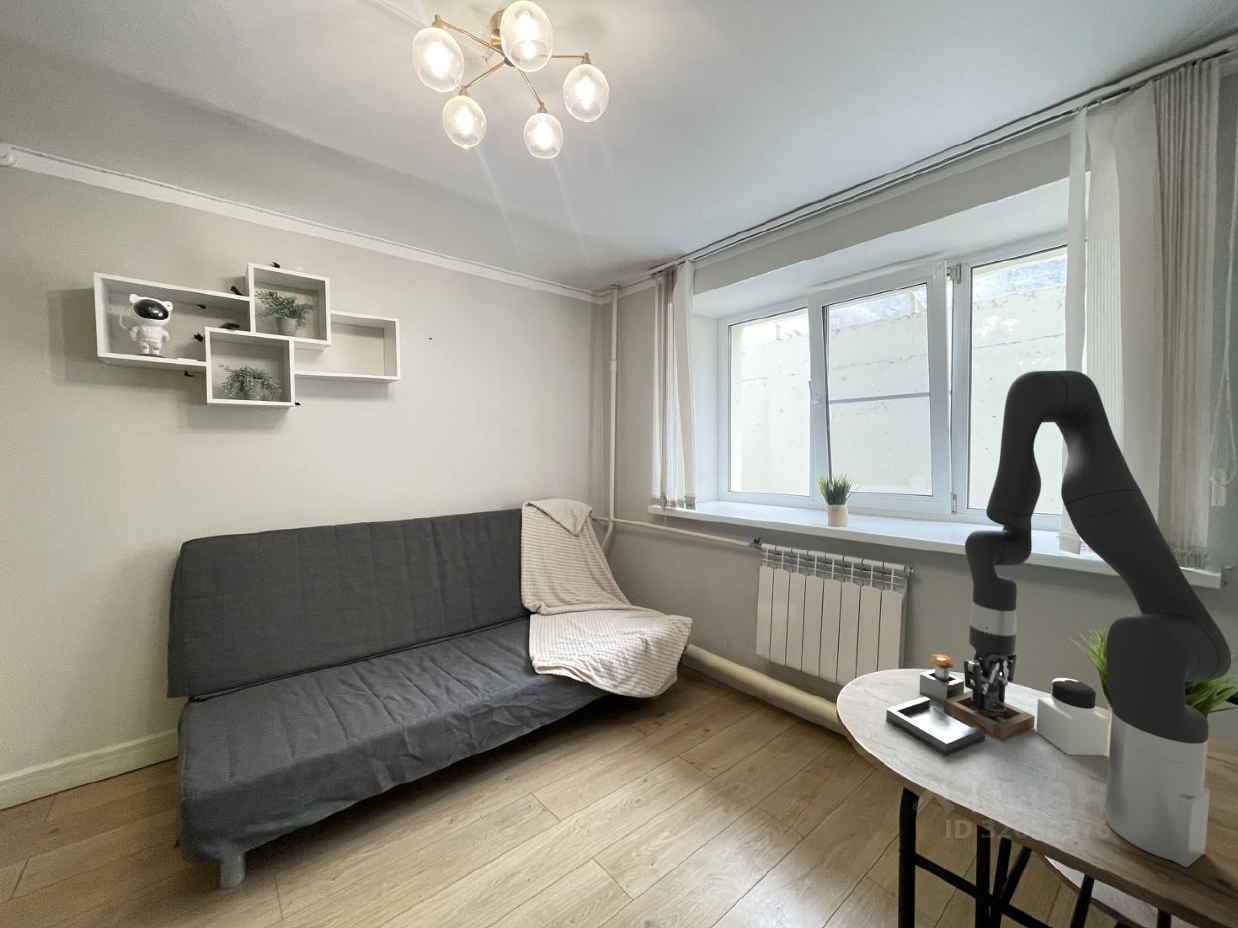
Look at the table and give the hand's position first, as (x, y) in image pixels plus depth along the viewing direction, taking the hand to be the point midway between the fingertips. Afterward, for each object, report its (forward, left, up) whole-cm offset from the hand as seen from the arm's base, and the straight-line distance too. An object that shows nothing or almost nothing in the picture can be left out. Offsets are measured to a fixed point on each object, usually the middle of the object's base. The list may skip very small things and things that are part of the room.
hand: (988, 704), depth 99 cm
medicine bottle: (-11, -6, -3) cm, 13 cm away
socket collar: (0, 0, -3) cm, 3 cm away
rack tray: (+2, +14, -3) cm, 14 cm away
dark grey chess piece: (0, 0, -3) cm, 3 cm away
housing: (+9, 0, -3) cm, 10 cm away
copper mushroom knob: (+10, 0, -1) cm, 10 cm away
